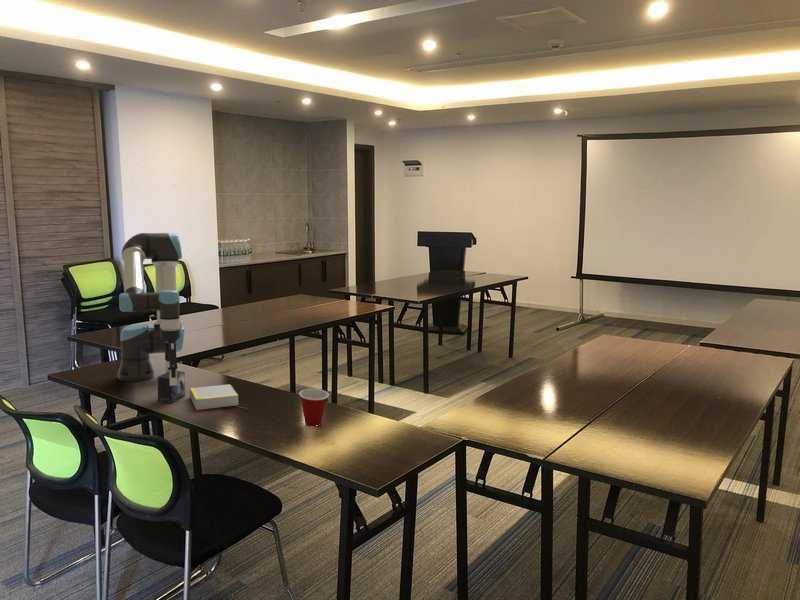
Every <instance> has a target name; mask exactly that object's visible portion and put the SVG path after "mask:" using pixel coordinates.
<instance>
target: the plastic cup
mask: <svg viewBox="0 0 800 600" xmlns="http://www.w3.org/2000/svg"><path fill="white" fill-rule="evenodd" d="M298 395H299V396H300V400H301V405H302V406H301V407H302V413H303V418H304V423H305V425H306V426H307V425H308V426H307V427H310V426H316V425H319V424H322V421H323V417H324V412H325V407H326V402H327V400H328V398H329V395H330V394H329V393H328V391H326V390H323V389H319V388H306V389H302V390H300V391H299V394H298ZM316 427H317V426H316Z"/></svg>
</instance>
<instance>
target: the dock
mask: <svg viewBox="0 0 800 600" xmlns="http://www.w3.org/2000/svg"><path fill="white" fill-rule="evenodd" d="M189 392H190V393H189V397H190V400H191V401H192V403H193V406H194V408H195V410H196V411H199V410H206V409H215V408H216V409H217V408H223V407H224V408H225V407H233V406H239V394H238V393H237V392H236V390H235V389H234V387H233V386H232V385H231V384H221V385H209V386H199V387H198V386H197V387H190V388H189Z"/></svg>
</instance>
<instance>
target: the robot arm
mask: <svg viewBox="0 0 800 600" xmlns="http://www.w3.org/2000/svg"><path fill="white" fill-rule="evenodd" d="M180 241H181V240H180V238H179V235H178V234H177V233H169V232H157V233H155V232H152V233H151V232H141V233H137V234H135V235H133V236H131V237H130V238H129V239H128V240H127V241H126V242H125V243H124V245H123V246H122V249H121V259H122V261H123V263H124V264H123V268H124V270H123V271H124V272H123V273H124V275H123V277H124V278H123V280H124V286H123V287H124V289H123V290H124V292H123V293H120V294H119V295H118V303H119V304H118V305H119V311H120V312H122V313H124V312H126V313H133V312H136V313H137V312H156V320H155V321H154V323H153V327H150V326H149V325H148V324H146V323H143V324H142V323H140V324H133V325H130V326H126V327H124V328H123V329H121V331H120V339H119V341H120V356H121V357H120V358H121V359H120V361H121V362H120V366H119V369H118V371H117V380H119V381H121V382H129V383H131V382H133V383H134V382H135V383H136V382H141V381H143V382H144V381H147V380H150V379H153V378H154V377H155V370H154V368H153V365H152V363H151V359H150V355H151V354H152V355H153V354H164V359H165V373H167V372H169V376H170V386H173V385H177V371H178V359H177V353H178V352H181V351H182V350H183V346H184V340H185V339H184V338H185V326H183V325H182V322H181V318H180V317H181V316H180V300H181V298H180V292H179V290H177V271H176V266H178V264H179V263H180V262H179V261H180V260H181V259H182V258H183V255H182V253H183V252H182V246H181V242H180ZM145 260H151V264H152V265H153V266H154V268H155V290H156V292H155V291H154V292H145V280H144V279H145V275H144V261H145Z"/></svg>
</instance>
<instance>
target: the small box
mask: <svg viewBox="0 0 800 600" xmlns="http://www.w3.org/2000/svg"><path fill="white" fill-rule="evenodd" d="M185 373H186V372H185V371H181V370H180V371H178V370H177V385H173V386H170V376H169V372H167V373H166V372H165V373H163V374H160V375H158V376H157V402H158V403H165V404H166V403H167V404H173V403H174V402H176V401H177V400H180V399H182V398H183V397H186V378H185V377H186V376H185V375H186V374H185Z"/></svg>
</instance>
